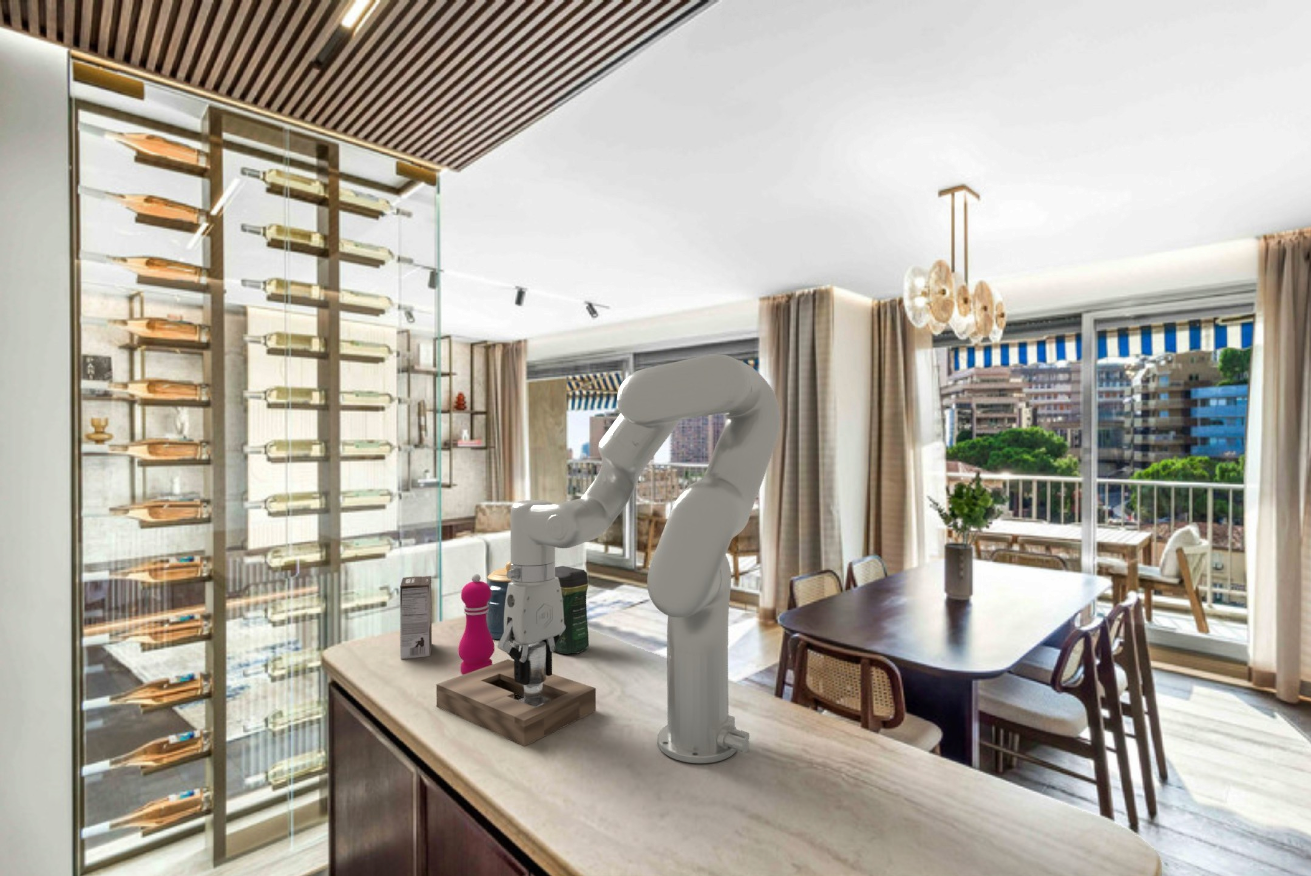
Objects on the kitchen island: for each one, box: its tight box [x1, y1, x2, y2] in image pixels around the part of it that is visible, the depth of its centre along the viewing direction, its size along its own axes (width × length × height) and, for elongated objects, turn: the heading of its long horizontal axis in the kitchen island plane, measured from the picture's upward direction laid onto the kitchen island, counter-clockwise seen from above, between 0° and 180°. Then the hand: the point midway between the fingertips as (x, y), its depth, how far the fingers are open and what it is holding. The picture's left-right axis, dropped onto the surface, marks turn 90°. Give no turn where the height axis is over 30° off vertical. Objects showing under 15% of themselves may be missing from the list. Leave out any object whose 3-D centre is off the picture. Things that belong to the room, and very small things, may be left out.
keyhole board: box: [435, 658, 597, 747], centre depth 111 cm, size 24×16×4 cm, turn 52°
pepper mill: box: [457, 573, 495, 675], centre depth 130 cm, size 7×7×20 cm
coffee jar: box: [553, 565, 590, 655], centre depth 143 cm, size 10×8×19 cm
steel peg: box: [517, 641, 551, 707], centre depth 108 cm, size 6×6×12 cm
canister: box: [486, 560, 511, 640], centre depth 155 cm, size 13×13×18 cm
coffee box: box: [399, 575, 433, 660], centre depth 142 cm, size 9×6×16 cm
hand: (533, 677), depth 108 cm, fingers closed on steel peg, 4 cm apart
